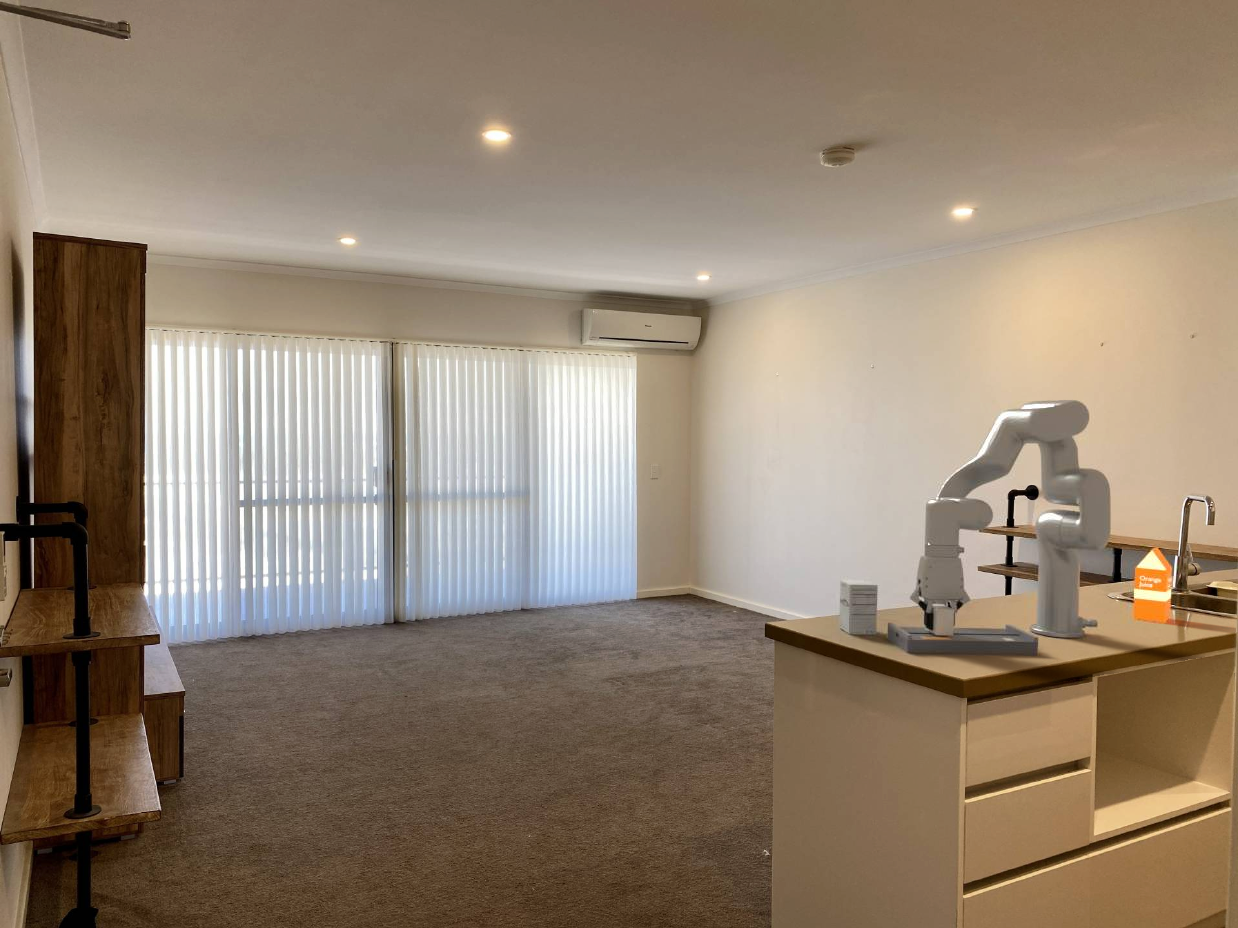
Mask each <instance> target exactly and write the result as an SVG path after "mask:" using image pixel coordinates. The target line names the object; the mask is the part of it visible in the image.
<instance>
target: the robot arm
mask: <svg viewBox="0 0 1238 928" xmlns="http://www.w3.org/2000/svg"><path fill="white" fill-rule="evenodd" d="M1089 422H1090V412H1089V409H1088V407H1087V406H1086V405H1085V403H1083V402H1081V401H1079V400H1073V399H1067V400H1066V399H1063V400H1039V401H1038V400H1035V401H1030V402H1027V403H1024V404H1022V405H1021V407H1020V408H1011V409H1007V410H1004V411H1002V412H1000V413H999V414H998V415H997V417H996V418H995V420H994V422H993V424H992V426H991V428H990V429H989V431H988V433H987V435H986V437H985V439H984V440H983V442H982V445H981V446H980V449H979V450H978V452H977V453H976V455H975V456H974V457H973V459H971V460H969V461H967V462H966V463H965V464H963V466H961V467H960V468H959V469H958V470H956V471H955V472H953V474H951V475H950V476H949V477H948V478H947V479H946V481H945V482H944V483H943V485H942V487H941V488H940V491H939V492H938V494H937V496H936V498H933V499H929V500H927V502H926V504H925V524H924V526H925V528H924V530H925V532H924V555H922V556H920V558H919V561H918V562H919V563H918V566H917V567H918V568H917V573H916V582H915V589H914V590H913V592H912V593H911V595H910V596H909V598H910V599H909V600H911V601H912V602H913V603H915V604H916V605H918V606H919V607H920V609H922V611H923V612H924V613H923V625H924V627H926V628H927V629H929V630H933V616H934V615H933V613H932V606H933V602H934V600H946V601H947V607H949V608H952V609H954V627H955V625H956V614H957V613H958V610H960V609H961V608H962V607H963V605H965V604H967V603H969V602H970V601H971V598H970V596H969V595H968V593H967V591H966V590H965V579H964V578H965V577H964V568H963V562H962V559H961V557H960V554H961V553H962V554H964V553H965V548H964V547H963V546H960V530H966V531H974V532H975V531H982V530H984V529H986V528H988V527H989V526H990V524H991V523H992V521H993V518H994V512H993V509H992V507H991V506H990V505H989V503H987V502H985V501H984V500H982V499H977V498H971V497H970V498H969V497H967V496H968V495H969V494H970V493H971V492H972V491H974V490H976V489H977V488H979V487H981V486H983V485H986V484H988V483H991V482H995V481H997V480H1000V479H1001V478H1004V477H1006V476H1007V475H1008V474H1009V473H1010V472H1011V470H1012V468H1013V467H1014V465H1015V463H1016V461H1017V459H1018V457H1019V455H1020V453H1021V452H1022V449H1023V447H1024V446H1025V445H1026V444H1037V446H1038V447H1039V450H1040V469H1041V471H1040V472H1041V475H1040V476H1041V477H1040V478H1041V481H1040V483H1041V495H1042V497H1043V499H1044V501H1047V502H1048V503H1050V504H1054V505H1062V506H1073V507H1078V508H1079V511H1078V510H1077V511H1076V510H1068V509H1048V510H1046V511H1044V512H1042V513H1041V514H1040V515H1039V516H1038V517H1037V519H1036V521H1035V527H1034V528H1035V535H1036V536H1035V537H1036V541H1037V548H1038V570H1037V571H1038V573H1037V574H1038V575H1037V600H1036V601H1037V602H1036V623H1033V624H1032V623H1031V624H1030V625H1029V630H1030V631H1031V632H1032V633H1035V634H1037V635H1038V634H1039V635H1043V636H1047V637H1055V638H1063V639H1064V638H1065V639H1066V638H1067V639H1071V638H1072V639H1075V638H1083V637H1084V636H1085V635H1086V633H1085V630H1084V629H1086V628H1087V627H1088V628H1097V627H1098V624H1099V623H1098V621H1097V619H1087V618H1083V617H1082V616H1079V609H1080V581H1081V579H1080V578H1081V564H1080V560H1079V557H1078V556H1077V553H1076V551H1075V550H1078V551H1087V552H1098V551H1101V550H1103V549H1104V548H1106V546H1107V545H1108V543H1109V541H1110V538H1111V523H1112V522H1111V518H1112V517H1111V511H1112V510H1111V509H1112V508H1111V486H1110V483H1109V480H1108V479H1107V477H1106V475H1105V474H1104V473H1103V472H1101V471H1100V470H1098V469H1094V468H1087V467H1086V468H1083V467H1080V465H1079V449H1078V445H1077V443H1076V440H1075V439H1074V436H1075V437H1076V436H1077V435H1079V434H1081V433H1082V432H1083V431H1085V429H1086V428H1087V426H1088V424H1089ZM920 598H922V599H923V600H922V599H920Z"/></svg>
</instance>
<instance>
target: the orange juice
mask: <svg viewBox="0 0 1238 928" xmlns="http://www.w3.org/2000/svg"><path fill="white" fill-rule="evenodd" d="M1172 573H1173V567H1172V566H1171V564H1170V563H1169V562H1168V560H1167V559H1166V557H1165V556H1164V555H1163V553H1162V552H1161V550H1160V549H1159V547H1158V546H1156V547H1154V548H1152V549H1151V550H1150V551H1149V553H1148V554H1147V555H1146V556H1145V557H1144V558H1143V559H1142V560H1141V561H1140V562H1139V564H1138V565H1136V567H1135V569H1134V589H1133V590H1134V591H1133V618H1132V619H1133V620H1135V619H1142V620H1141V621H1143V620H1148V621H1147V622H1151V621H1158V622H1157V623H1159V622H1162V623H1161V624H1165V623H1167V622H1168V621H1169V620H1170V619H1171V602H1172V601H1171V599H1172V577H1173V576H1172ZM1169 618H1170V619H1169ZM1168 619H1169V620H1168ZM1167 620H1168V621H1167ZM1166 621H1167V622H1166Z"/></svg>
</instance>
